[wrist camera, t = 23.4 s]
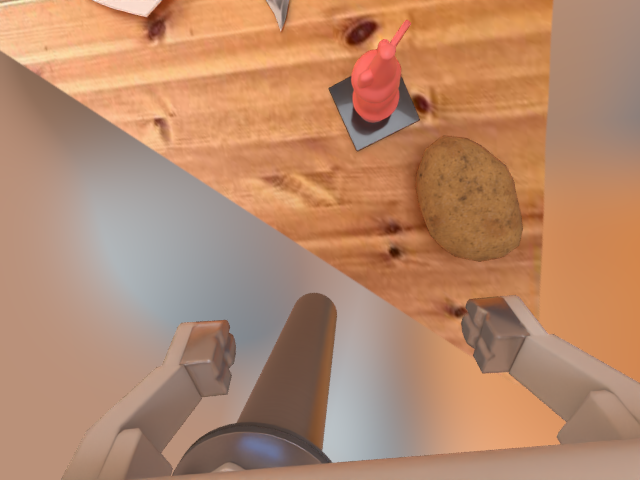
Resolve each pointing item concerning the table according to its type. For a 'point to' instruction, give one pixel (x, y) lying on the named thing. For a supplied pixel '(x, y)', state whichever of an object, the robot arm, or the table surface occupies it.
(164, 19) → the table surface
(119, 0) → the plate
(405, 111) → the coaster
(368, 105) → the figurine
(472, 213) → the potato
